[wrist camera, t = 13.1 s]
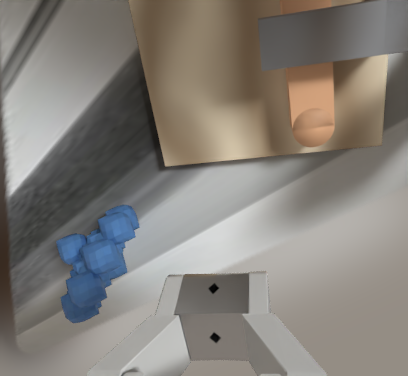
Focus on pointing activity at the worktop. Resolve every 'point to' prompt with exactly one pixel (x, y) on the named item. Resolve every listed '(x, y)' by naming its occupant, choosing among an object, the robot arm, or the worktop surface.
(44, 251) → the worktop surface
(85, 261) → the grapes
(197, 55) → the board
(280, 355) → the robot arm
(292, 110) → the link
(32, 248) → the worktop surface
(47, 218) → the worktop surface
